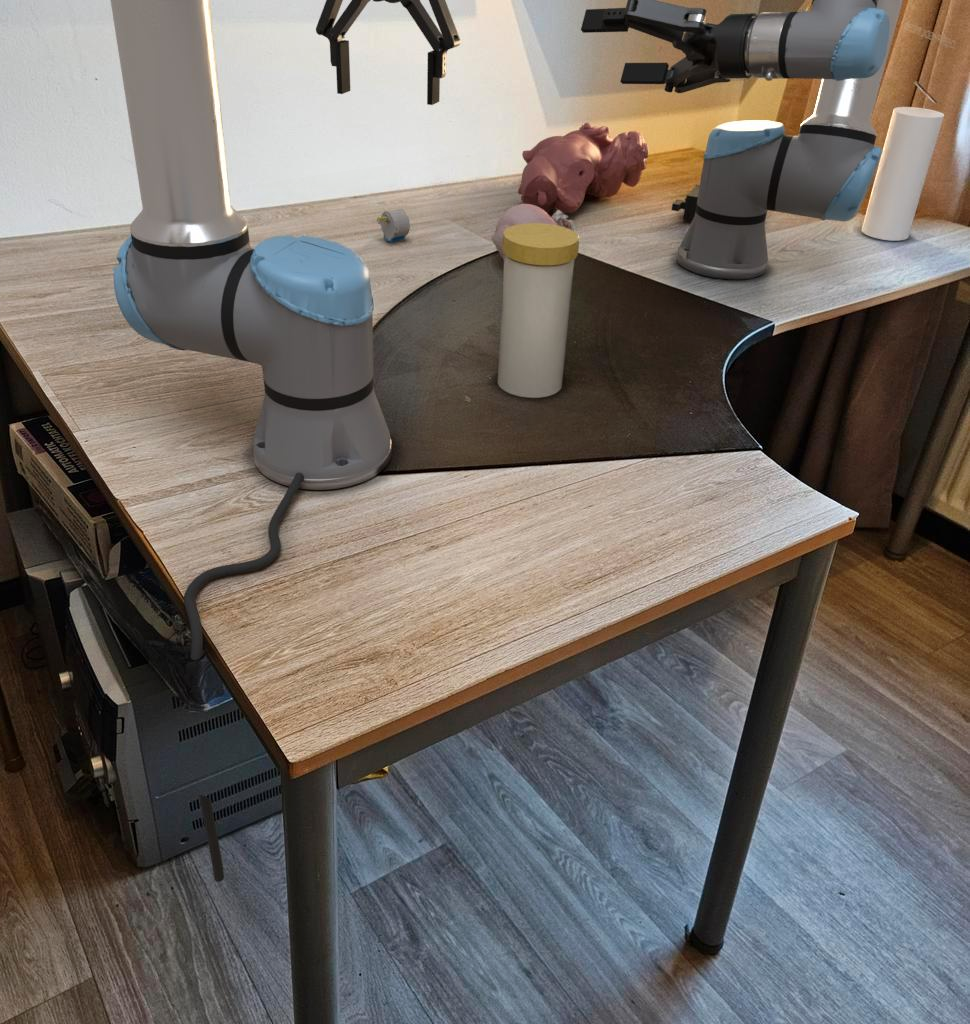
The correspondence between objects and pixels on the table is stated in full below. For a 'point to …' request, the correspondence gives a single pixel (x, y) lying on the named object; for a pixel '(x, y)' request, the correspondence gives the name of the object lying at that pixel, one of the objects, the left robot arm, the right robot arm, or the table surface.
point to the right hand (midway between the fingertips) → (604, 48)
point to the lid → (540, 244)
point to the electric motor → (394, 225)
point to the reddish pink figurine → (581, 167)
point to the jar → (534, 327)
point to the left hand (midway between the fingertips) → (388, 97)
